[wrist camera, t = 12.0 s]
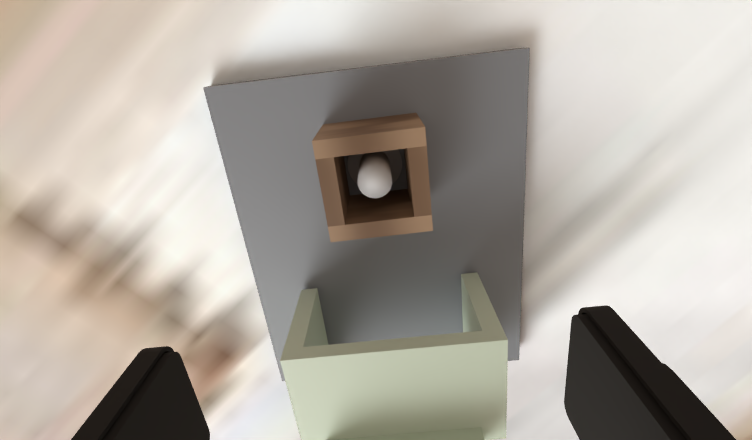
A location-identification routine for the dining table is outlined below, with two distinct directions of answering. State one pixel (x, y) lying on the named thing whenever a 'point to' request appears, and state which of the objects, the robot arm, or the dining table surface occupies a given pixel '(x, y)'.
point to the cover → (399, 378)
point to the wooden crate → (360, 212)
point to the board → (388, 262)
